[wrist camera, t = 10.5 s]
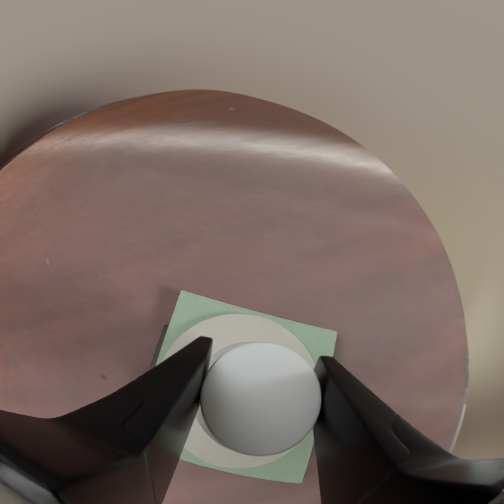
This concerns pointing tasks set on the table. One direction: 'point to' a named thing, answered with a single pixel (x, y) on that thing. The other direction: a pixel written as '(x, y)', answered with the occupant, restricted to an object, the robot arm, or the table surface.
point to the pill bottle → (259, 398)
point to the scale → (228, 333)
